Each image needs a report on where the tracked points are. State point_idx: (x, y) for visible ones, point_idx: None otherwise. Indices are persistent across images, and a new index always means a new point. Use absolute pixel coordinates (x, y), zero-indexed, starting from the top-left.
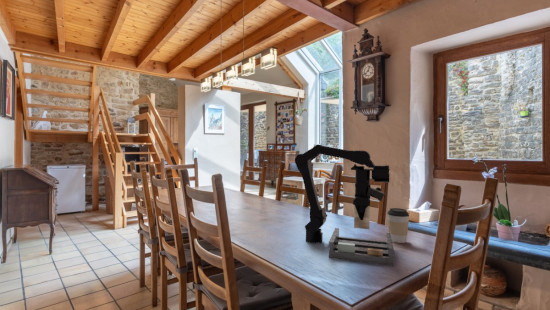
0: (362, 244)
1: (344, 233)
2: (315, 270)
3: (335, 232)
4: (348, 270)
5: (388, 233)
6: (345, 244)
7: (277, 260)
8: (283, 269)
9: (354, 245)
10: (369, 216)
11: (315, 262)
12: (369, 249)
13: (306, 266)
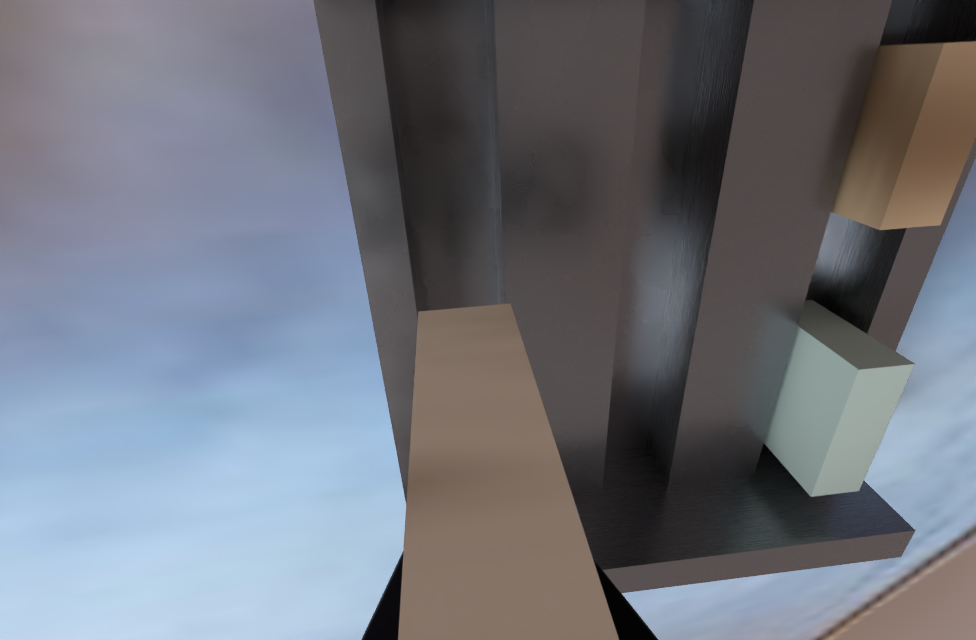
0: (597, 292)
1: (9, 486)
2: (943, 461)
3: None
4: (957, 303)
5: None
6: (880, 438)
7: (807, 619)
8: (921, 569)
9: (912, 366)
10: (566, 492)
11: None
12: (934, 206)
13: None
